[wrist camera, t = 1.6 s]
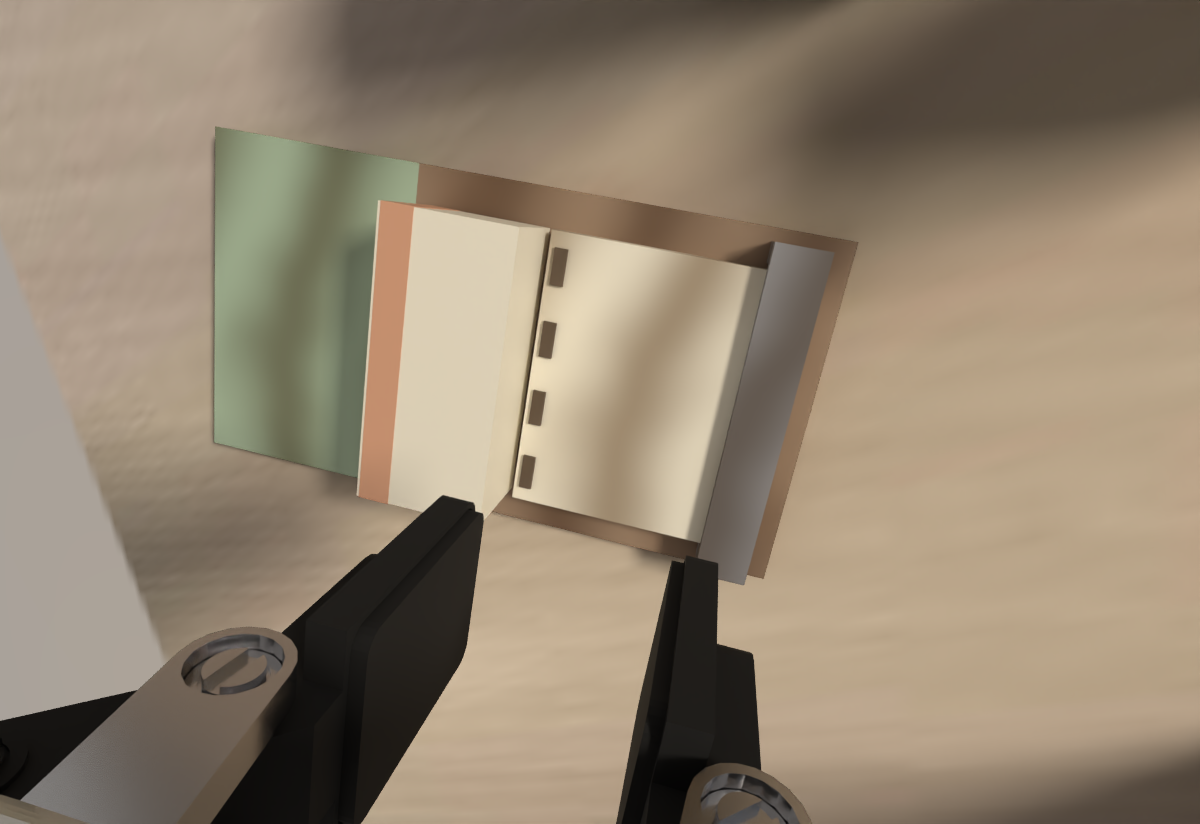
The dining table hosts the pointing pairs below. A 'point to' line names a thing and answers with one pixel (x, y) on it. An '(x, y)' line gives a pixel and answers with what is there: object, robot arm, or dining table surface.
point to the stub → (447, 354)
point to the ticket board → (540, 343)
